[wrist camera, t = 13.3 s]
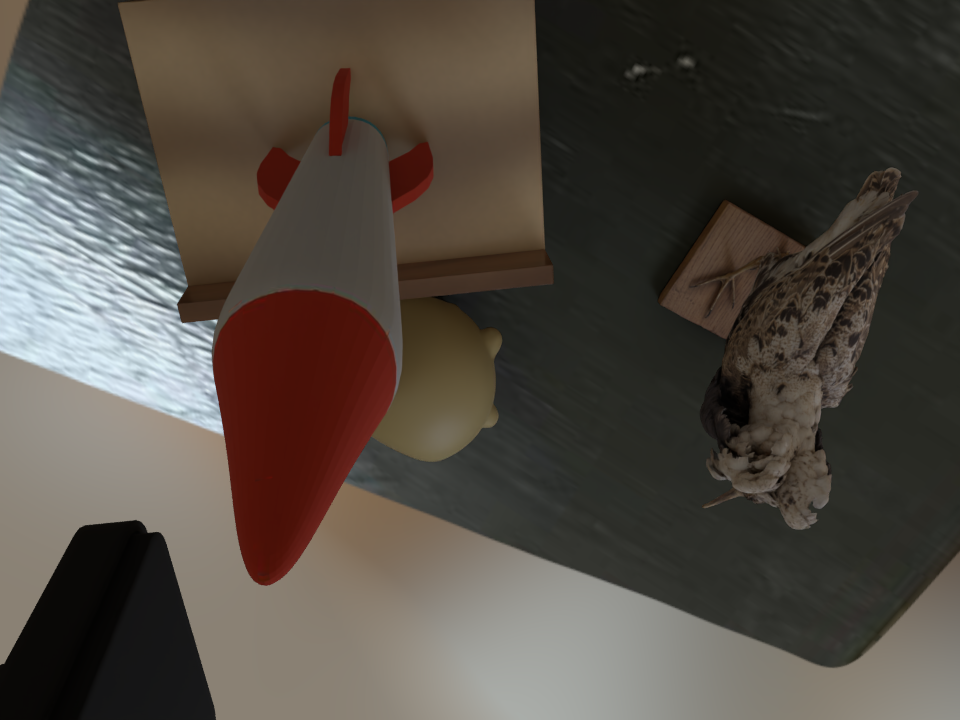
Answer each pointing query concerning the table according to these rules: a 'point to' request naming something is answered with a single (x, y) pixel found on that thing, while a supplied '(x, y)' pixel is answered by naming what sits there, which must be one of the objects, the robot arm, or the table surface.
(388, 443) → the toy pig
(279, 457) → the toy rocket
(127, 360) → the table surface
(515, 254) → the rack
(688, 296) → the stuffed bird
